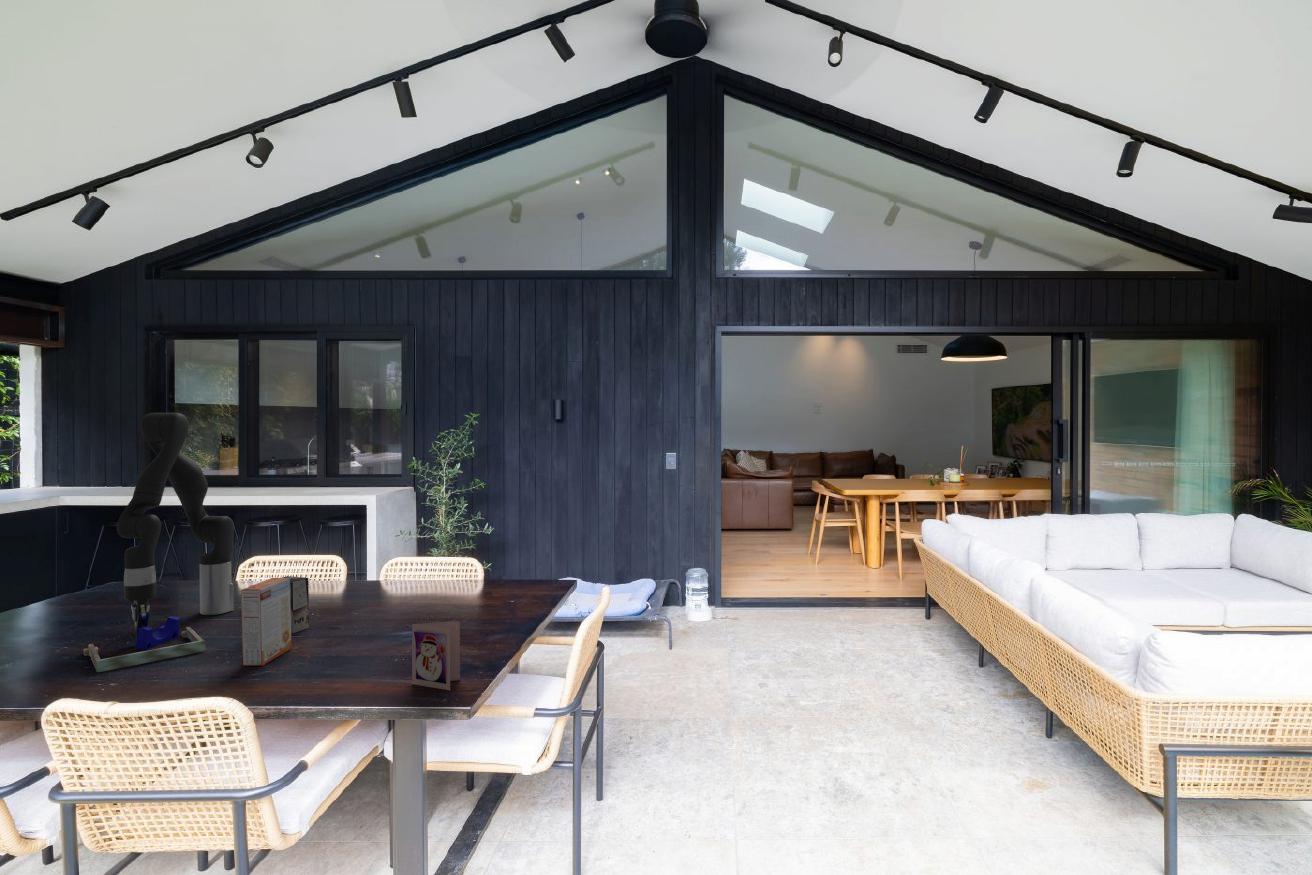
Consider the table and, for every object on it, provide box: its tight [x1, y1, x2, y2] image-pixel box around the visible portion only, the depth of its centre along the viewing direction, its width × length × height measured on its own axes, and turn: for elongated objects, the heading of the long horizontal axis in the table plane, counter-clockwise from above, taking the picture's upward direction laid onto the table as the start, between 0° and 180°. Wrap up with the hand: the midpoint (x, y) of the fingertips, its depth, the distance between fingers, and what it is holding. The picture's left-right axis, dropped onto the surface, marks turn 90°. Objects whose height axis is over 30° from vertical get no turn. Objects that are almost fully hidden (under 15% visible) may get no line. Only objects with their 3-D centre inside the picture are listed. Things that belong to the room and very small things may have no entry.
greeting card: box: [411, 620, 461, 691], centre depth 169 cm, size 11×7×15 cm, turn 69°
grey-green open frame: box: [82, 626, 206, 673], centre depth 193 cm, size 26×22×3 cm
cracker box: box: [240, 577, 292, 667], centre depth 188 cm, size 14×6×21 cm, turn 178°
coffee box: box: [281, 575, 310, 634], centre depth 214 cm, size 9×6×16 cm
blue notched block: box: [134, 615, 182, 651], centre depth 200 cm, size 12×4×6 cm, turn 176°
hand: (140, 640), depth 199 cm, fingers closed
